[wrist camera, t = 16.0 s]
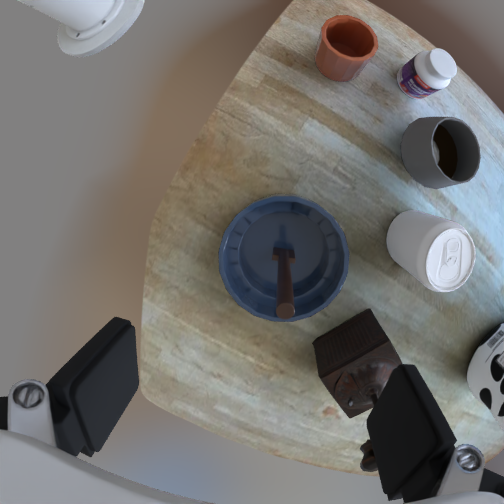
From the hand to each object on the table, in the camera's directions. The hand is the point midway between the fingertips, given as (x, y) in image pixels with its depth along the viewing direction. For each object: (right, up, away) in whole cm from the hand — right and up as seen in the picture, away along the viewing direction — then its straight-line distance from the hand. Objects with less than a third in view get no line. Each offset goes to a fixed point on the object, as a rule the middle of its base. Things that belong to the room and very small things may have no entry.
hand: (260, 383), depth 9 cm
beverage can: (+22, +7, +28) cm, 36 cm away
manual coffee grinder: (+17, -13, +33) cm, 39 cm away
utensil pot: (+11, +30, +22) cm, 40 cm away
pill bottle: (+23, +29, +22) cm, 43 cm away
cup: (+23, +18, +25) cm, 38 cm away
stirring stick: (+4, +5, +29) cm, 30 cm away
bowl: (+4, +5, +30) cm, 30 cm away
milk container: (+49, -16, +31) cm, 60 cm away
